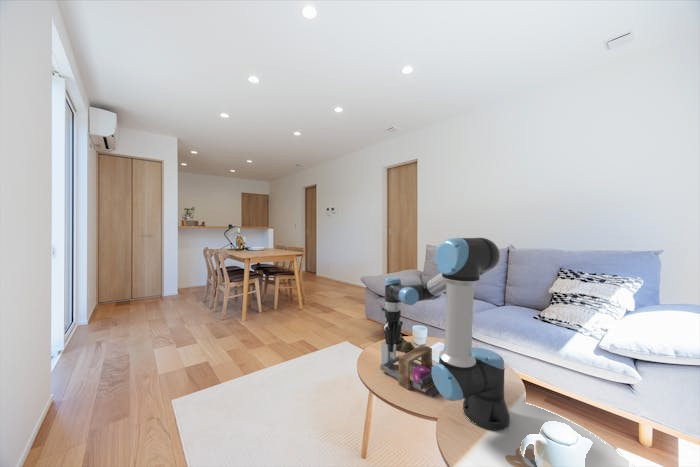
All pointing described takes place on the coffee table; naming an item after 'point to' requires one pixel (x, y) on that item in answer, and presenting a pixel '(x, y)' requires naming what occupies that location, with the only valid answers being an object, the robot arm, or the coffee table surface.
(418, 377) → the puzzle toy
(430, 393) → the pit tray
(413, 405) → the coffee table surface
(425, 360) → the tunnel
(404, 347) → the rock
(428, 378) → the sled
